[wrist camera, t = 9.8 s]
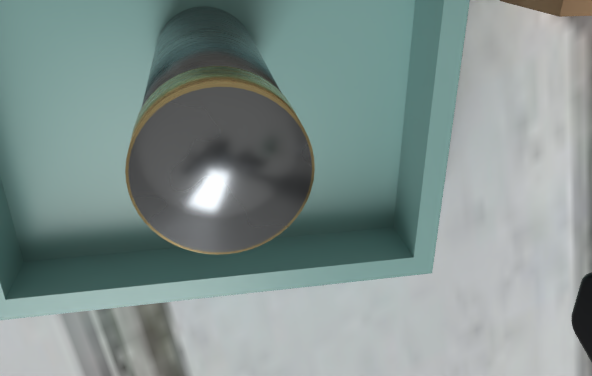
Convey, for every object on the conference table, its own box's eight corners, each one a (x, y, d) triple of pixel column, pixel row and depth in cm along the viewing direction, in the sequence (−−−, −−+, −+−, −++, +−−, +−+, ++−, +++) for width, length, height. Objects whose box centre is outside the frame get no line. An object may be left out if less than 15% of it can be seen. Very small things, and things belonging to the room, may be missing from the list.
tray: (451, -222, 16) (504, -250, 13) (403, 232, 23) (431, 273, 20) (-137, -248, 13) (-217, -290, 11) (11, 269, 20) (-15, 321, 18)
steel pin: (255, 3, 17) (316, 78, 9) (258, 104, 18) (313, 245, 10) (147, 6, 16) (111, 88, 8) (159, 109, 18) (138, 263, 10)
